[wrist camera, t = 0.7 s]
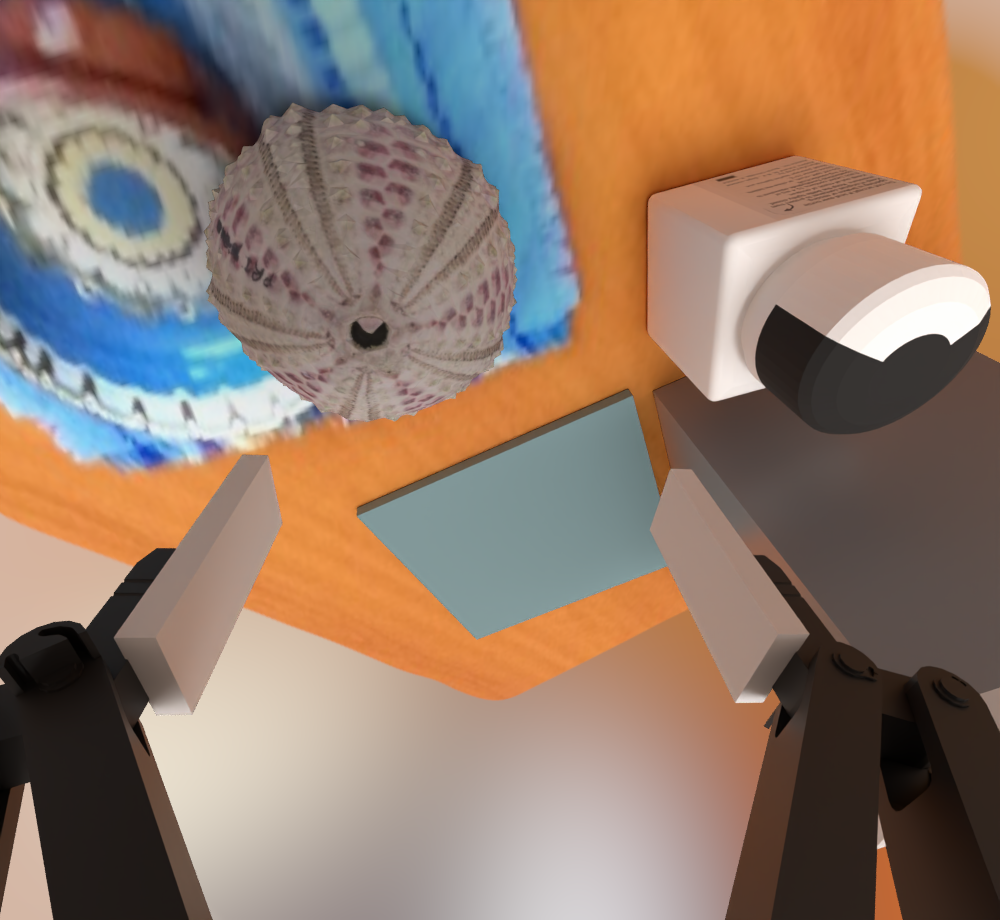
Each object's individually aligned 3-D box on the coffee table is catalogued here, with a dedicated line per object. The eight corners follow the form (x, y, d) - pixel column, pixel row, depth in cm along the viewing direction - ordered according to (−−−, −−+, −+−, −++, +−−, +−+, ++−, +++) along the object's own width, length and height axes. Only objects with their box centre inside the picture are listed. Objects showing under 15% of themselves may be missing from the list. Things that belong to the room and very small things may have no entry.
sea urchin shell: (325, 415, 28) (306, 512, 22) (146, 166, 20) (36, 215, 14) (535, 335, 27) (575, 413, 21) (447, 34, 19) (472, 24, 13)
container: (770, 301, 29) (968, 429, 19) (645, 335, 29) (777, 480, 19) (797, 152, 23) (1088, 220, 14) (645, 193, 24) (826, 291, 14)
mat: (475, 631, 46) (476, 639, 46) (357, 508, 33) (356, 516, 33) (673, 555, 44) (677, 562, 43) (627, 389, 31) (632, 395, 30)
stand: (687, 543, 43) (874, 849, 26) (652, 391, 31) (947, 768, 15) (844, 482, 41) (1150, 770, 25) (868, 297, 30) (1480, 605, 13)
